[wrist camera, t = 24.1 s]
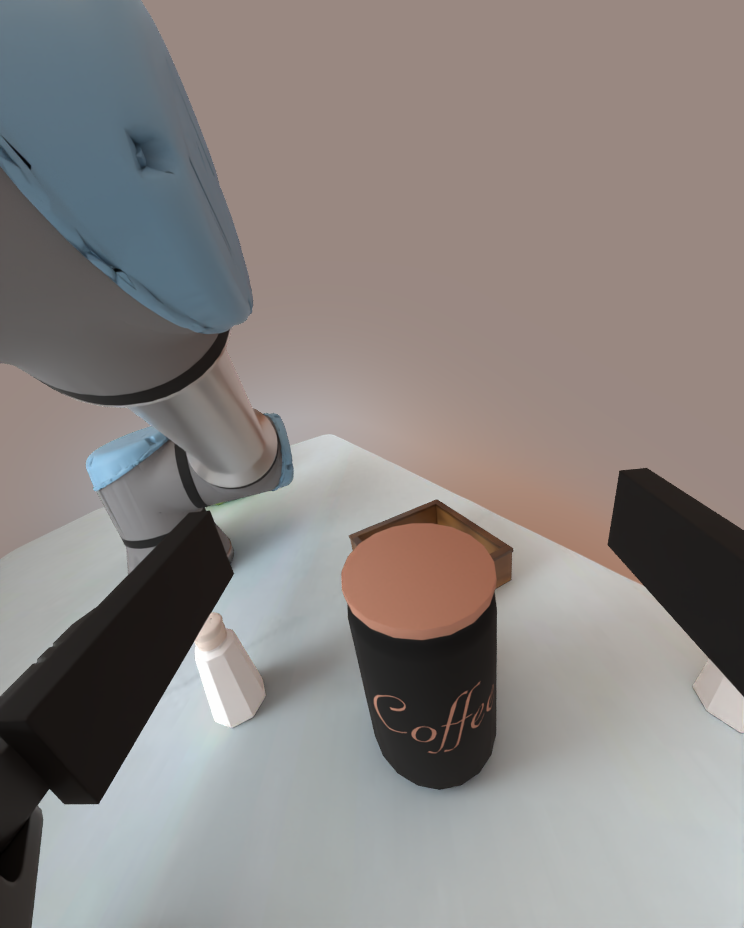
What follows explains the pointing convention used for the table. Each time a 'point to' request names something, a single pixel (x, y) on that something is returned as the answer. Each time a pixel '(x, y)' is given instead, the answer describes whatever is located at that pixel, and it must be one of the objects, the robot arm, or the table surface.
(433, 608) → the coffee jar
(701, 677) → the salt shaker
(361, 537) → the wooden tray
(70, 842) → the table surface
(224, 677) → the pepper shaker
